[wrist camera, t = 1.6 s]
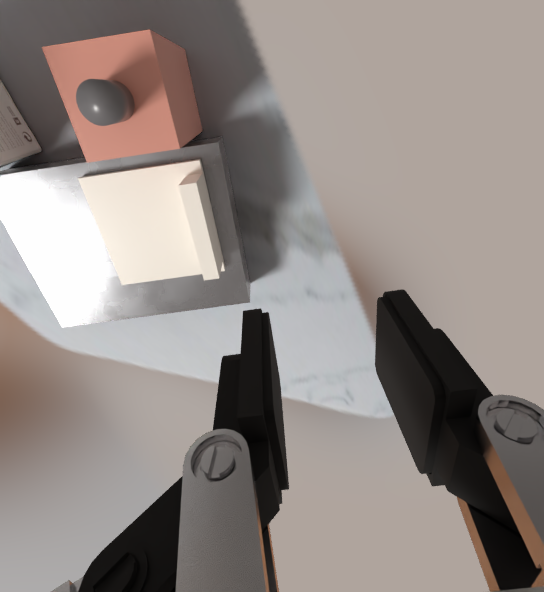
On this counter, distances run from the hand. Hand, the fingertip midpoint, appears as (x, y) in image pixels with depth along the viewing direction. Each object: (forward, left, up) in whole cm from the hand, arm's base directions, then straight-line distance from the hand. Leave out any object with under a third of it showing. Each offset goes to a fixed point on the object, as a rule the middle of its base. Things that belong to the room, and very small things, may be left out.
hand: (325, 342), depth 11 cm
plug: (-7, -7, -17) cm, 20 cm away
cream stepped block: (0, -9, -14) cm, 17 cm away
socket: (+1, -11, -17) cm, 21 cm away
